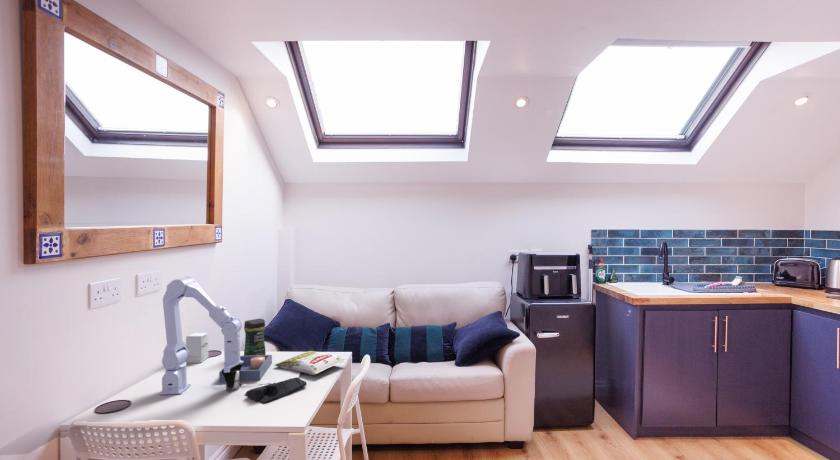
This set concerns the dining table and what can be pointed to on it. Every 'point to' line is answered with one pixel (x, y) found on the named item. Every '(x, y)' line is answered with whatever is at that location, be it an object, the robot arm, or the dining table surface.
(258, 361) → the peach round blob
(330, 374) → the dining table surface
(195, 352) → the supplement box
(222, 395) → the dining table surface
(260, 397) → the dark slate chunk
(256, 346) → the coffee jar
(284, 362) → the frozen beans
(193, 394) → the dining table surface
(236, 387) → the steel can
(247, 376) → the slate blue tote
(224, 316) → the robot arm
